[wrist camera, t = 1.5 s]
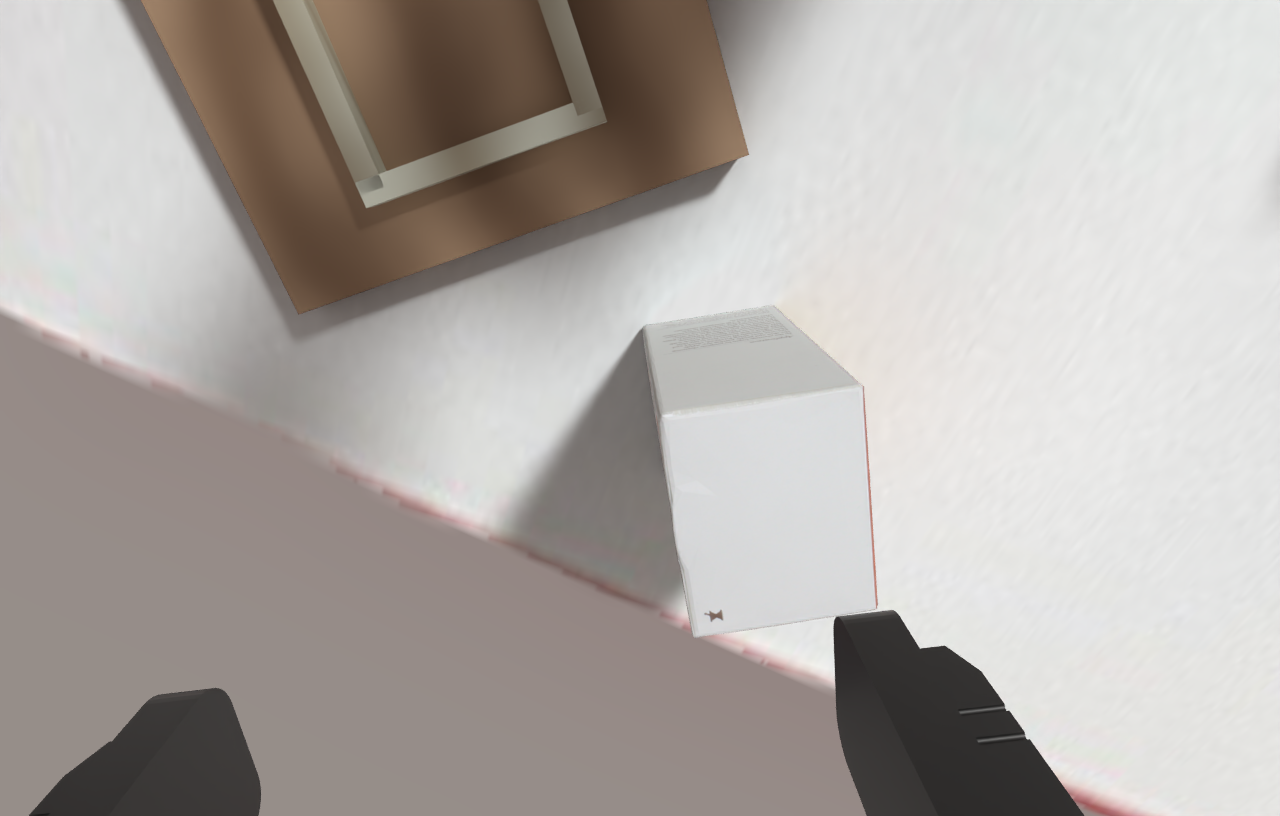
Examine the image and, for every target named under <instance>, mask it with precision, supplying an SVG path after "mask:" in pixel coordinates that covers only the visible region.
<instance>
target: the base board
mask: <svg viewBox="0 0 1280 816" xmlns="http://www.w3.org/2000/svg"><path fill="white" fill-rule="evenodd" d="M141 1H142V3H143V5H144V7H145V9H146V11H147V13H148V15H149V17H150V19H151V21H152V23H153V25H154V27H155V29H156V31H157V33H158V35H159V37H160V39H161V41H162V43H163V45H164V47H165V49H166V51H167V53H168V55H169V57H170V59H171V61H172V63H173V65H174V67H175V69H176V71H177V73H178V75H179V77H180V79H181V81H182V83H183V85H184V87H185V89H186V91H187V93H188V95H189V97H190V99H191V101H192V103H193V105H194V107H195V109H196V111H197V113H198V115H199V117H200V119H201V121H202V123H203V125H204V127H205V129H206V131H207V133H208V135H209V137H210V139H211V141H212V143H213V145H214V147H215V149H216V151H217V153H218V155H219V157H220V159H221V161H222V163H223V165H224V167H225V169H226V171H227V173H228V175H229V177H230V179H231V181H232V183H233V185H234V187H235V189H236V191H237V193H238V195H239V197H240V199H241V201H242V203H243V205H244V207H245V209H246V211H247V213H248V215H249V217H250V219H251V221H252V223H253V225H254V226H255V228H256V230H257V232H258V234H259V236H260V238H261V240H262V242H263V244H264V246H265V248H266V250H267V252H268V254H269V256H270V258H271V260H272V262H273V264H274V266H275V268H276V270H277V272H278V274H279V276H280V278H281V280H282V282H283V284H284V286H285V288H286V290H287V292H288V294H289V296H290V298H291V300H292V302H293V304H294V306H295V308H296V310H297V312H298V314H302V313H304V312H307V311H310V310H313V309H316V308H318V307H321V306H324V305H327V304H330V303H333V302H335V301H338V300H341V299H344V298H347V297H349V296H352V295H355V294H358V293H361V292H364V291H366V290H369V289H372V288H375V287H378V286H380V285H383V284H386V283H389V282H392V281H395V280H397V279H400V278H403V277H406V276H409V275H411V274H414V273H417V272H420V271H423V270H426V269H428V268H431V267H434V266H437V265H440V264H442V263H445V262H448V261H451V260H454V259H457V258H459V257H462V256H465V255H468V254H471V253H473V252H476V251H479V250H482V249H485V248H487V247H490V246H493V245H496V244H499V243H502V242H504V241H507V240H510V239H513V238H516V237H518V236H521V235H524V234H527V233H530V232H533V231H535V230H538V229H541V228H544V227H547V226H549V225H552V224H555V223H558V222H561V221H564V220H566V219H569V218H572V217H575V216H578V215H580V214H583V213H586V212H589V211H592V210H595V209H597V208H600V207H603V206H606V205H609V204H611V203H614V202H617V201H620V200H623V199H626V198H628V197H631V196H634V195H637V194H640V193H642V192H645V191H648V190H651V189H654V188H657V187H659V186H662V185H665V184H668V183H671V182H673V181H676V180H679V179H682V178H685V177H688V176H690V175H693V174H696V173H699V172H702V171H704V170H707V169H710V168H713V167H716V166H719V165H721V164H724V163H727V162H730V161H733V160H735V159H738V158H741V157H744V156H747V155H749V153H748V150H747V146H746V142H745V139H744V135H743V131H742V128H741V124H740V121H739V117H738V113H737V110H736V106H735V102H734V99H733V95H732V91H731V88H730V84H729V80H728V77H727V73H726V69H725V66H724V62H723V59H722V55H721V51H720V48H719V44H718V40H717V37H716V33H715V29H714V26H713V22H712V18H711V15H710V11H709V7H708V4H707V0H141Z"/></svg>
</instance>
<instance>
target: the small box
mask: <svg viewBox="0 0 1280 816" xmlns="http://www.w3.org/2000/svg"><path fill="white" fill-rule="evenodd" d="M642 330H643V339H644V347H645V355H646V361H647V368H648V374H649V381H650V388H651V394H652V400H653V406H654V413H655V419H656V426H657V432H658V438H659V444H660V450H661V456H662V462H663V468H664V474H665V480H666V486H667V492H668V498H669V504H670V510H671V517H672V524H673V531H674V538H675V544H676V551H677V557H678V562H679V565H680V570H681V575H682V581H683V587H684V592H685V598H686V604H687V609H688V615H689V620H690V626H691V631H692V635H693V636H694V637H695V638H698V637H703V636H709V635H716V634H724V633H731V632H738V631H745V630H752V629H758V628H765V627H771V626H778V625H784V624H791V623H797V622H803V621H809V620H814V619H821V618H828V617H834V616H840V615H846V614H852V613H857V612H864V611H871V610H875V609H877V605H878V603H877V586H876V570H875V554H874V539H873V522H872V506H871V490H870V473H869V461H868V444H867V429H866V415H865V398H864V386H863V385H861V384H860V383H859V382H858V381H857V380H856V379H855V378H854V377H853V376H851V375H850V374H849V373H848V372H847V371H846V370H845V369H844V368H843V367H841V366H840V365H839V364H838V363H837V362H836V361H835V360H834V359H833V358H832V357H830V356H829V355H828V354H827V353H826V352H825V351H824V350H823V349H821V348H820V347H819V346H818V345H817V344H816V343H815V342H814V341H813V340H812V339H811V338H809V337H808V336H807V335H806V334H805V333H804V332H803V331H802V330H801V329H800V328H798V327H797V326H796V325H795V324H794V323H793V322H792V321H791V320H790V319H788V318H787V317H786V316H785V315H784V314H783V313H782V312H781V311H780V310H779V309H777V308H776V307H775V306H773V305H769V306H763V307H757V308H751V309H745V310H738V311H732V312H726V313H720V314H714V315H707V316H701V317H695V318H689V319H682V320H676V321H669V322H663V323H657V324H650V325H645V326H643V328H642Z"/></svg>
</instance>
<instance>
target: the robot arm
mask: <svg viewBox="0 0 1280 816" xmlns="http://www.w3.org/2000/svg"><path fill="white" fill-rule="evenodd" d="M834 659H835V687H836V710H837V722H838V729H839V734H840V740H841V744H842V748H843V752H844V756H845V759H846V762H847V765H848V768H849V770H850V773H851V776H852V778H853V781H854V783H855V786H856V789H857V791H858V794H859V796H860V798H861V802H862V804H863V807H864V809H865V812H866V815H867V816H1084V814H1083V813H1082V812H1081V810H1080V809H1079V808H1078V806H1077V805H1076V803H1075V802H1074V801H1073V799H1072V798H1071V796H1070V795H1069V794H1068V792H1067V791H1066V789H1065V788H1064V787H1063V785H1062V784H1061V782H1060V781H1059V780H1058V778H1057V777H1056V775H1055V774H1054V773H1053V771H1052V770H1051V768H1050V767H1049V766H1048V764H1047V763H1046V761H1045V760H1044V759H1043V757H1042V756H1041V754H1040V753H1039V752H1038V750H1037V749H1036V747H1035V746H1034V745H1033V743H1032V742H1031V740H1030V739H1029V740H1027V739H1026V737H1025V732H1024V731H1023V729H1022V728H1021V726H1020V725H1019V724H1018V722H1017V721H1016V719H1015V718H1014V717H1013V715H1012V714H1011V712H1010V711H1006V709H1005V705H1004V703H1003V701H1002V700H1001V698H1000V697H999V696H998V694H997V693H996V691H995V690H994V689H993V687H992V686H991V684H990V683H989V682H988V680H987V679H986V677H985V676H984V675H983V673H982V672H981V671H980V670H979V669H977V668H976V667H974V666H973V665H971V664H970V663H969V662H967V661H966V660H964V659H963V658H962V657H960V656H959V655H957V654H956V653H954V652H953V651H952V650H950V649H949V648H947V647H946V646H939V647H930V648H922V649H920V648H919V647H918V645H917V643H916V642H915V640H914V639H913V637H912V635H911V634H910V632H909V630H908V629H907V627H906V626H905V624H904V622H903V621H902V619H901V618H900V616H899V615H898V614H897V613H896V612H895V611H894V610H889V611H881V612H872V613H864V614H855V615H847V616H838V617H836V618H835V620H834ZM260 802H261V788H260V781H259V777H258V774H257V771H256V768H255V765H254V763H253V760H252V757H251V754H250V751H249V749H248V746H247V743H246V740H245V738H244V735H243V732H242V729H241V727H240V724H239V721H238V718H237V716H236V713H235V710H234V707H233V705H232V702H231V700H230V698H229V696H228V695H227V693H226V692H224V691H223V690H221V689H219V688H212V689H204V690H195V691H187V692H178V693H169V694H161V695H157V696H155V697H152V698H151V699H150V700H148V701H147V702H146V703H145V704H144V705H143V706H142V707H141V709H140V710H139V711H138V712H137V713H136V714H135V716H134V717H133V718H132V719H131V720H130V721H129V723H128V724H127V725H126V726H125V727H124V728H123V729H122V731H121V732H120V733H119V734H118V735H117V736H116V738H115V739H114V740H113V741H112V742H108V743H107V744H106V745H105V746H103V747H102V748H101V749H99V750H98V751H97V752H95V753H94V754H93V755H91V756H90V757H89V758H87V759H86V760H85V761H83V762H82V763H81V764H79V765H78V766H77V767H76V768H74V769H73V770H72V771H70V772H69V773H68V774H66V775H65V776H64V777H63V778H62V779H61V780H60V781H59V782H58V783H57V785H56V786H55V787H54V788H53V789H52V790H51V791H50V792H49V794H48V795H47V796H46V797H45V798H44V799H43V800H42V801H41V802H40V804H39V805H38V806H37V807H36V808H35V809H34V810H33V812H32V813H31V814H30V815H29V816H258V815H259V809H260Z"/></svg>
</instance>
